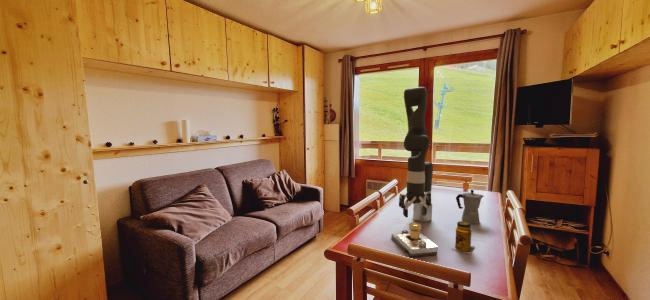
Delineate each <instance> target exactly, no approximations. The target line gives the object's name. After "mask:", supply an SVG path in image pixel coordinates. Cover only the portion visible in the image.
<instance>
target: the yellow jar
mask: <svg viewBox="0 0 650 300" xmlns="http://www.w3.org/2000/svg"><path fill="white" fill-rule="evenodd" d="M456 225H457V226H456V228H455V244H454V246H453V247H452V250H454V251H457V252H459V253H464V254H469V255H471V254H472V253H473V251H474V249H475V246H473V245H472V229H471V225H472V224H470V223H468V222H464V221H462V220H461V221H457V223H456Z"/></svg>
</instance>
